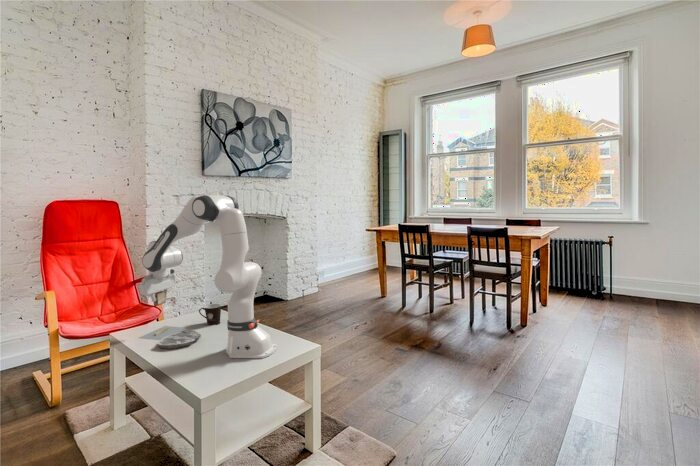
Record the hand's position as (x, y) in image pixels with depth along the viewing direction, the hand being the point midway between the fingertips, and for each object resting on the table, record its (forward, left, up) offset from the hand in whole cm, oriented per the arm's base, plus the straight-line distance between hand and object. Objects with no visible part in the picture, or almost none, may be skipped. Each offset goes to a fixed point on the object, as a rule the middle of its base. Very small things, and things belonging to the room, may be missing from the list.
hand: (159, 299), depth 185 cm
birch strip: (+1, -2, -18) cm, 18 cm away
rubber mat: (0, -2, -18) cm, 18 cm away
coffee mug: (-15, -21, -18) cm, 31 cm away
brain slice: (-18, +7, -19) cm, 27 cm away
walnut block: (0, 0, -2) cm, 2 cm away
